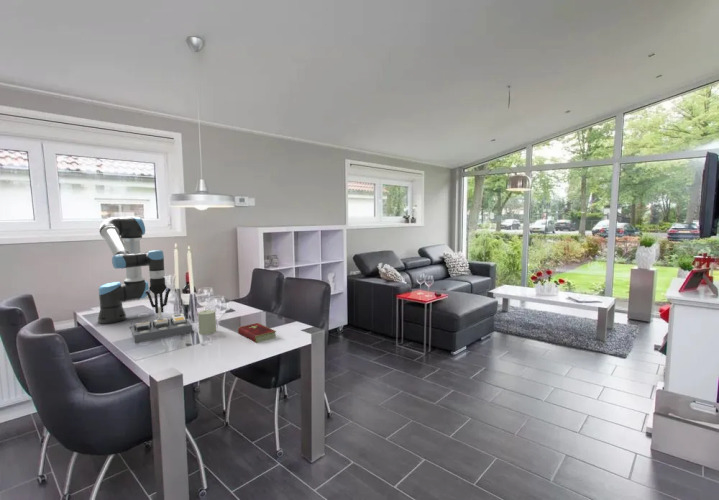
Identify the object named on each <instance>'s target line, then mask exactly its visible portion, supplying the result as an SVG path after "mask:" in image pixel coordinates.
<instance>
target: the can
mask: <svg viewBox="0 0 719 500" xmlns="http://www.w3.org/2000/svg"><path fill="white" fill-rule="evenodd" d="M211 310H212V311H211ZM197 314H198V315H197V317H198V334H199V335H204V336H205V335H212V334H215V333H216V332H217V321H216V320H217V319H216V318H217V317H216V310H214V309H206V310H201V311H198V313H197Z"/></svg>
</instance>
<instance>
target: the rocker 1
mask: <svg viewBox="0 0 719 500" xmlns="http://www.w3.org/2000/svg"><path fill="white" fill-rule="evenodd" d="M150 322H151V321H143V322H138V323H135V325H136V327H139V326H145V325H150Z"/></svg>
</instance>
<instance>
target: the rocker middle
mask: <svg viewBox="0 0 719 500" xmlns="http://www.w3.org/2000/svg"><path fill="white" fill-rule="evenodd" d="M167 319H168V318H166V317H165V318H162V319H154V320H153V321H154V323H155V324H162V323H168V320H167Z"/></svg>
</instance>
